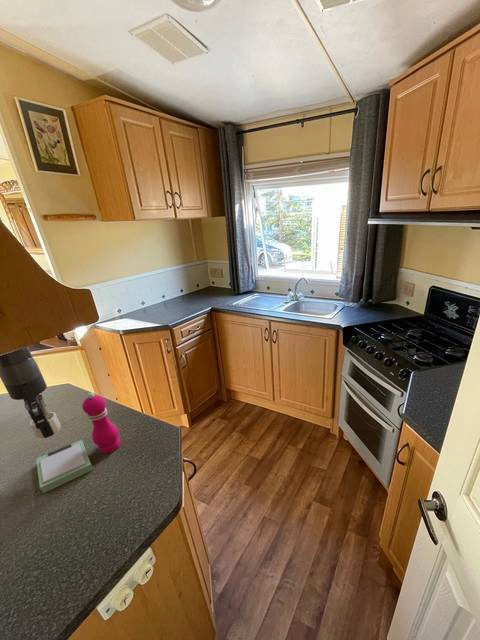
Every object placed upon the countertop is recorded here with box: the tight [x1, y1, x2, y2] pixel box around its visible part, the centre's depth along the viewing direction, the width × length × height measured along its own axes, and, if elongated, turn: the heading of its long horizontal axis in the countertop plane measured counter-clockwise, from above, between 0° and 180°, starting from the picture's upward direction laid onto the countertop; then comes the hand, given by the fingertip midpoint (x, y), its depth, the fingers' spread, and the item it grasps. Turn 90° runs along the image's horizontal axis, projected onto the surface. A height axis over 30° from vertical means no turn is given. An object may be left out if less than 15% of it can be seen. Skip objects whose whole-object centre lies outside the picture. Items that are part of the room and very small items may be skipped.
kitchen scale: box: [35, 439, 94, 494], centre depth 84 cm, size 14×12×3 cm
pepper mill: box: [81, 392, 122, 454], centre depth 88 cm, size 7×7×20 cm
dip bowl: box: [28, 411, 62, 439], centre depth 79 cm, size 6×6×4 cm
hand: (47, 430), depth 79 cm, fingers closed on dip bowl, 6 cm apart
